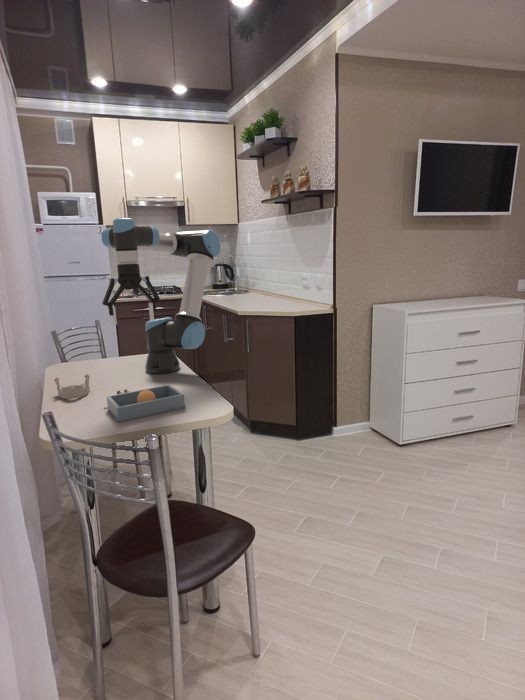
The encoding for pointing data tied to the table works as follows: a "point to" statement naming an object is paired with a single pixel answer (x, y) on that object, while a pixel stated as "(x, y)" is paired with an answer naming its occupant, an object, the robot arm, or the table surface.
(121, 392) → the tan knobbed round piece
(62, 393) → the anatomical model
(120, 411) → the tray
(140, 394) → the ball
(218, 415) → the table surface
